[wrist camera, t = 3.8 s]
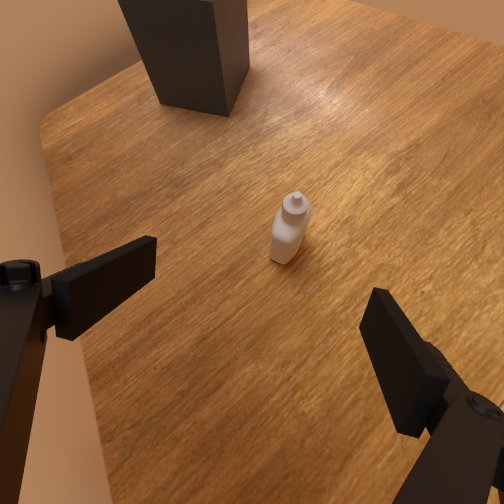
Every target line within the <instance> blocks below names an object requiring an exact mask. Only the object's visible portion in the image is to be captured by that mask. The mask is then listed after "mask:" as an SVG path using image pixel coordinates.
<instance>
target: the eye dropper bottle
mask: <svg viewBox="0 0 504 504" xmlns="http://www.w3.org/2000/svg"><path fill="white" fill-rule="evenodd" d="M310 216H311V204H310V203H309V202H308V200H307V198H306V197H305V196H304V195H303V194H301V193H300V192H293V193H289V194H288V195H286V196H285V197H284V199H283V203H282V207H281V208H280V209H279V211H278V212H277V214H276V216H275V219H274V222H273V226H272V232H271V243H270V258H271V259H272V260H274V261H276V262H278V263H280V264H283V265H284V264H286V263H288V262H289V261H290V260H291V259H292V258H293V257H294V256H295V254H296V253H297V251H298V249H299V247H300V245H301V242H302V240H303V237H304V234H305V231H306V229H307V226H308V223H309V220H310Z"/></svg>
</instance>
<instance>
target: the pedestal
mask: <svg viewBox="0 0 504 504" xmlns="http://www.w3.org/2000/svg"><path fill="white" fill-rule="evenodd" d="M118 3H119V5H120V8H121V10H122V12H123V15H124V17H125V20H126V22H127V24H128V27H129V29H130V32H131V34H132V37H133V39H134V41H135V44H136V46H137V49H138V51H139V53H140V56H141V58H142V61H143V63H144V65H145V68H146V70H147V73H148V75H149V78H150V80H151V82H152V85H153V87H154V90H155V92H156V94H157V97H158V99H159V102H160V104H165V105H170V106H175V107H180V108H185V109H190V110H195V111H201V112H206V113H211V114H216V115H221V116H226V117H229V115H230V113H231V110H232V108H233V105H234V103H235V101H236V98H237V96H238V93H239V91H240V88H241V86H242V84H243V81H244V79H245V76H246V74H247V71H248V69H249V67H250V61H249V38H248V15H247V0H118Z"/></svg>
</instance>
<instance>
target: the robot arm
mask: <svg viewBox="0 0 504 504" xmlns="http://www.w3.org/2000/svg"><path fill="white" fill-rule="evenodd" d="M156 246H157V238H155V237H151V236H146V235H145V236H143V237H140V238H138V239H136V240H134V241H131V242H129V243H127V244H125V245H123V246H120V247H118V248H116V249H114V250H111V251H109V252H107V253H105V254H102V255H100V256H98V257H96V258H93V259H91V260H89V261H86V262H81V263H78V264H75V265H73V266H71V267H70V268H66V269H64V270H62V271H60V272H57V273H55V274H53V275H50V276H48V277H46V278H43V279H41V274H40V265H39V263H38V262H36V261H33V260H12V261H7V262H3V263H1V264H0V504H18V501H19V495H20V489H21V484H22V478H23V473H24V467H25V461H26V455H27V449H28V443H29V439H30V433H31V427H32V422H33V416H34V410H35V405H36V399H37V393H38V387H39V382H40V376H41V370H42V365H43V359H44V353H45V348H46V342H47V329H48V328H50V327H52V326H53V325H55V330H56V337H60V338H63V339H67V340H70V341H73V340H75V339H76V338H77V337H79V336H80V335H81V334H82V333H84V332H85V331H86V330H88V329H89V328H90V327H92V326H93V325H94V324H95V323H97V322H98V321H99V320H101V319H102V318H103V317H105V316H106V315H107V314H108V313H110V312H111V311H112V310H114V309H115V308H116V307H118V306H119V305H120V304H121V303H123V302H124V301H125V300H127V299H128V298H129V297H131V296H132V295H133V294H134V293H136V292H137V291H138V290H140V289H141V288H142V287H144V286H145V285H146V284H147V283H149V282H150V281H151V280H153V279H154V278H155V264H156ZM359 329H360V332H361V335H362V338H363V340H364V343H365V346H366V349H367V351H368V354H369V357H370V360H371V362H372V365H373V368H374V371H375V373H376V376H377V379H378V382H379V384H380V387H381V390H382V393H383V395H384V398H385V401H386V404H387V406H388V409H389V412H390V415H391V417H392V420H393V423H394V426H395V428H396V431H397V433H401V434H404V435H408V436H411V437H415V438H418V439H419V437H420V436H421V434H422V432H423V430H424V428H425V427H426V428H427V430H428V432H429V434H430V436H431V437H430V439H429V441H428V442H427V444H426V446H425V448H424V449H423V451H422V453H421V454H420V456H419V458H418V459H417V461H416V463H415V465H414V466H413V468H412V470H411V471H410V473H409V475H408V476H407V478H406V480H405V482H404V483H403V485H402V487H401V488H400V490H399V492H398V493H397V495H396V497H395V499H394V500H393V502H392V504H487V500H488V496H489V493H490V489H491V486H493V487H495V488H497V489H498V494H499V500H500V504H504V413H503V411H502V410H501V409H500V408H499V407H498V406H496V405H495V404H494V403H493V402H491V401H490V400H489V399H487V398H486V397H484V396H482V395H480V394H478V393H476V392H473V391H470V390H469V389H468V387H467V386H466V385H465V383H464V382H463V381H462V379H461V378H460V377H459V375H458V374H457V373H456V371H455V370H454V369H452V366H451V365H450V363H449V362H448V361H447V359H446V358H445V357H444V355H443V354H442V353H441V352H440V351H439V350H438V349H437V348H436V347H435V346H433V345H432V344H431V343H430V342H426V341H423V339H422V338H421V337H420V335H419V334H418V332H417V331H416V329H415V328H414V327H413V325H412V324H411V322H410V321H409V320H408V318H407V317H406V315H405V314H404V312H403V311H402V310H401V308H400V307H399V305H398V304H397V303H396V301H395V300H394V298H393V297H392V295H391V294H390V293H389V291H388V290H385V289H380V288H376V287H374V288H373V291H372V293H371V296H370V299H369V302H368V304H367V307H366V310H365V312H364V315H363V318H362V321H361V323H360V326H359Z"/></svg>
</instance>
